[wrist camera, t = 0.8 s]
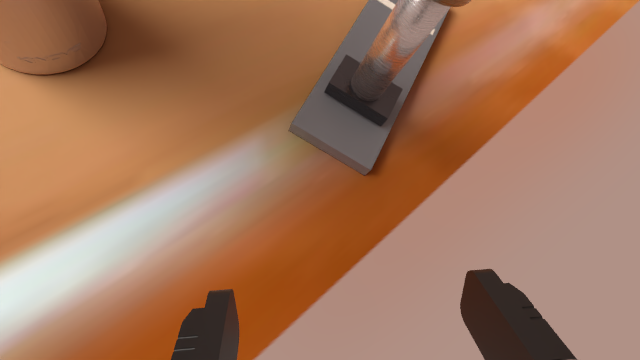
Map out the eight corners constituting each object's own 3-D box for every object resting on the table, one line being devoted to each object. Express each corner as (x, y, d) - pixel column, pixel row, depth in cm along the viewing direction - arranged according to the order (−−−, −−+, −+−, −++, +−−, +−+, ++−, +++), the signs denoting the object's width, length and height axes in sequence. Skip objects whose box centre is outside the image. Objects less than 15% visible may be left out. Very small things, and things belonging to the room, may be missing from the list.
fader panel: (364, 175, 34) (371, 169, 32) (288, 130, 33) (291, 122, 32) (445, 9, 43) (454, -1, 42) (387, -28, 43) (393, -40, 41)
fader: (379, 129, 34) (504, -5, 19) (322, 95, 33) (405, -70, 18) (396, 94, 35) (524, -54, 21) (342, 61, 35) (433, -114, 20)
